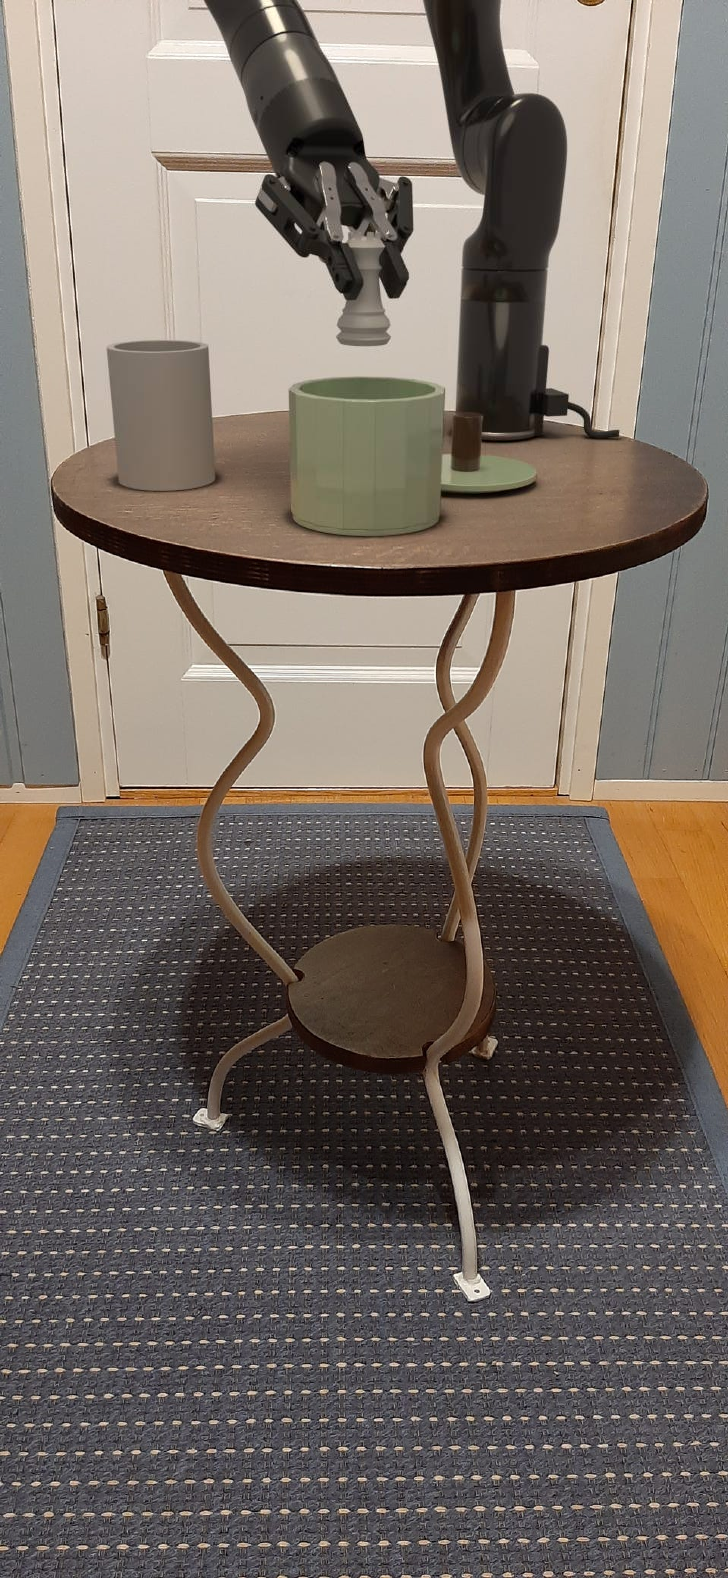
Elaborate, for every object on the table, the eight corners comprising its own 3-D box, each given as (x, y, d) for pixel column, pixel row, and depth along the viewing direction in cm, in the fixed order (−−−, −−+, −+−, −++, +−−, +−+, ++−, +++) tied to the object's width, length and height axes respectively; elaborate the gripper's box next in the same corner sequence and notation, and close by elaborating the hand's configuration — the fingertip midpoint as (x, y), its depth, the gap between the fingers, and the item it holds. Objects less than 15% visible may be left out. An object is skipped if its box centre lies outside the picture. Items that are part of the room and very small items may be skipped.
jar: (411, 494, 105) (414, 374, 100) (461, 530, 95) (468, 397, 90) (277, 503, 102) (274, 379, 97) (314, 541, 91) (312, 404, 87)
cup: (121, 492, 105) (108, 353, 99) (116, 471, 113) (104, 341, 107) (220, 488, 107) (213, 351, 101) (209, 467, 115) (202, 339, 109)
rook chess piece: (385, 339, 94) (387, 231, 91) (396, 346, 91) (398, 233, 87) (332, 339, 94) (331, 231, 90) (340, 347, 90) (339, 233, 86)
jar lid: (502, 462, 118) (505, 399, 115) (560, 493, 106) (566, 424, 103) (375, 470, 114) (376, 405, 111) (421, 502, 103) (424, 431, 100)
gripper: (234, 69, 86) (313, 258, 82) (394, 78, 92) (474, 254, 89) (208, 151, 92) (281, 329, 89) (359, 155, 99) (433, 321, 95)
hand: (377, 291), depth 89 cm, fingers closed on rook chess piece, 3 cm apart
